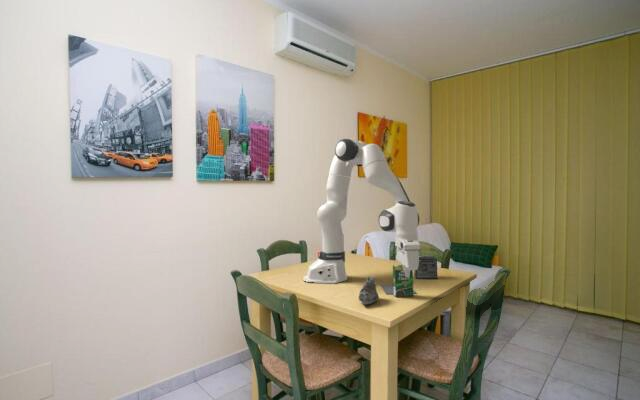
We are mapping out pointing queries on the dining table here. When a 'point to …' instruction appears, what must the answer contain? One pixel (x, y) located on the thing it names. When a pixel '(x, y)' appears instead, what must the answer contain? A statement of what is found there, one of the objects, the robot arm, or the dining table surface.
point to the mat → (390, 289)
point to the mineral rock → (368, 292)
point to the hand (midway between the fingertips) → (406, 276)
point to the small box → (426, 268)
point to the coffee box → (402, 282)
